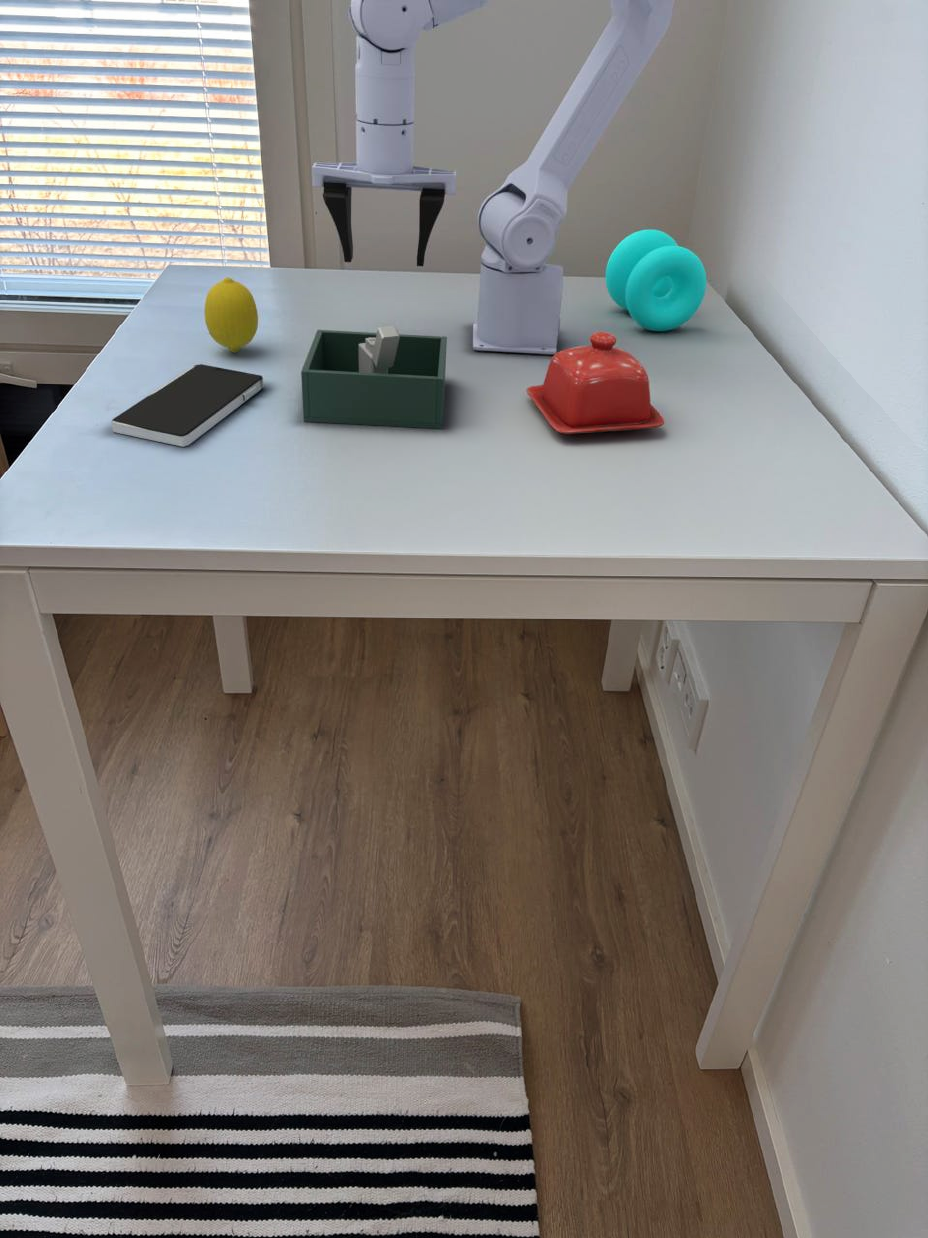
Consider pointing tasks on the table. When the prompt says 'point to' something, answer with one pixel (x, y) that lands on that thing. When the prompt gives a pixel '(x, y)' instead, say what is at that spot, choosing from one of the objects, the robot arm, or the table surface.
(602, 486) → the table surface
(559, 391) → the butter dish
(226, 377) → the smartphone
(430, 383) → the bin
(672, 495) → the table surface
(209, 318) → the lemon
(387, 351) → the grey stepped block
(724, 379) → the table surface
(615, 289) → the turquoise yoyo
